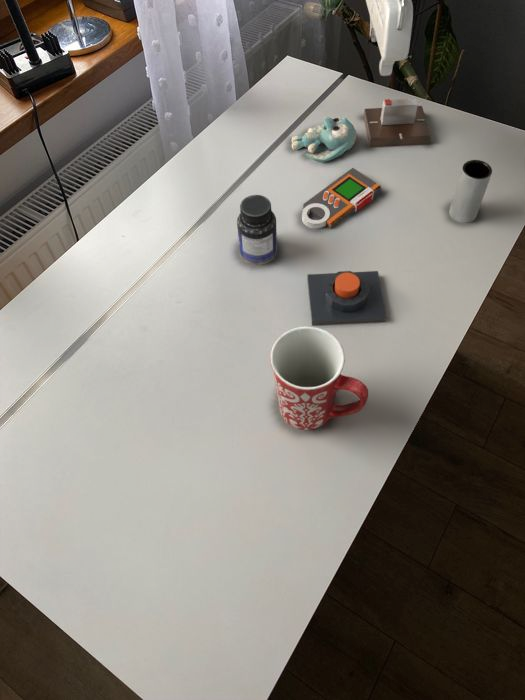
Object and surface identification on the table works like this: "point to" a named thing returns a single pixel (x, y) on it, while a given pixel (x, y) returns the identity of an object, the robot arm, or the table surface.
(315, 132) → the stuffed animal
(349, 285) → the button
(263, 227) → the pill bottle
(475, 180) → the white cylindrical tube
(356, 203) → the electronic device
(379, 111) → the panel
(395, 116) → the white rectangular block
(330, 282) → the button box
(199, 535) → the table surface
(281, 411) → the mug
